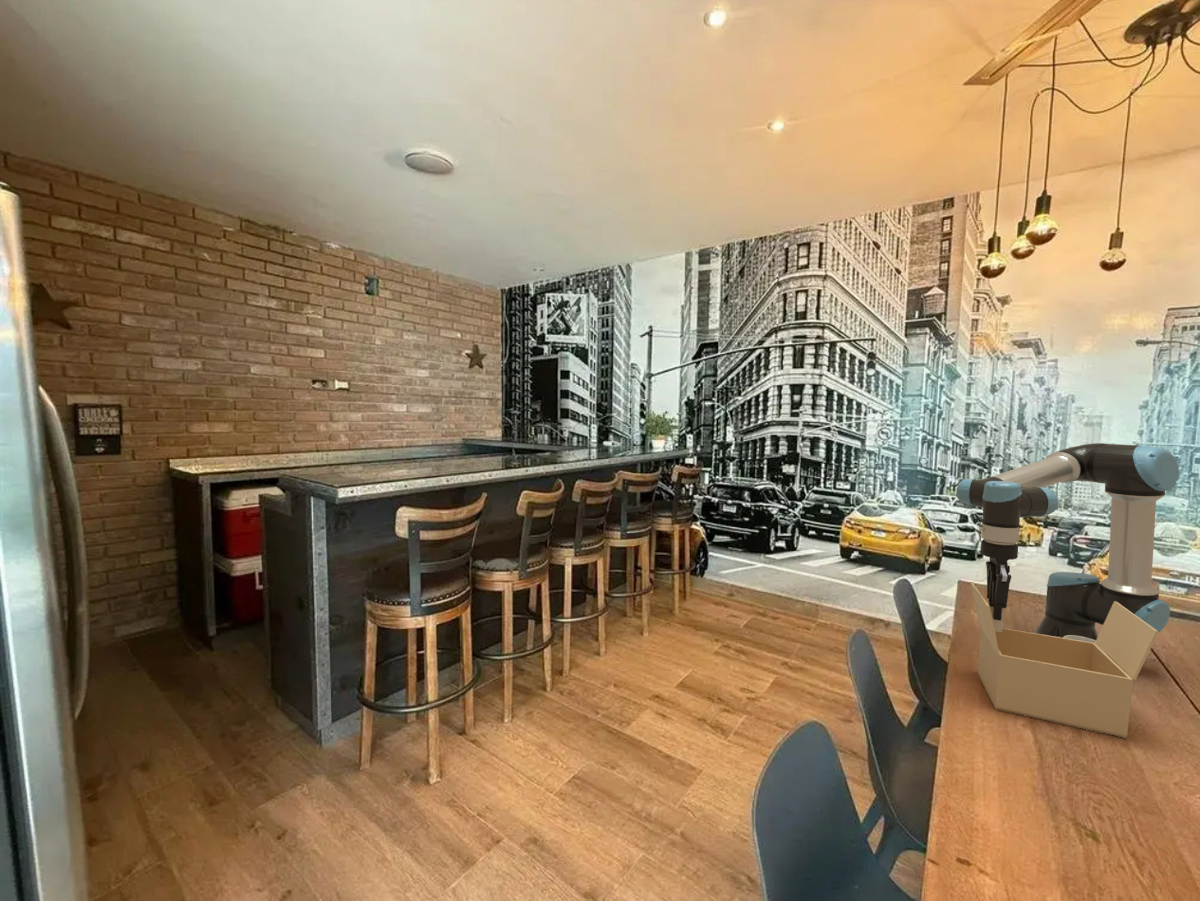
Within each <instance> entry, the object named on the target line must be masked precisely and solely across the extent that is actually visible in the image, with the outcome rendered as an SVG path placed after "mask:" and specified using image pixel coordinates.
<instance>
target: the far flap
mask: <svg viewBox="0 0 1200 901" xmlns="http://www.w3.org/2000/svg"><path fill="white" fill-rule="evenodd" d="M970 587H971V592H972V596H973V602H974V607H975V611H976V616H977V621H978V625H979V626H980V629H981V628H982V630H983V631H984V633H985V635H986V636H987V638H988V640H989V641H990V643H991V645H992V646H993V648H994V650H995V651H996V653H997V654H1000V653H999V649H998V644H997V639H996V634H995V629H994V624H993V620H992V615H991V610H990V606H989V604H988V603H989V602H988V601H987V600H986V599H985V597H984V596H983V595H982V593H981V592H980V591H979V589H978V587H977V586H976V585H975V584H974V581H970Z"/></svg>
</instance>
